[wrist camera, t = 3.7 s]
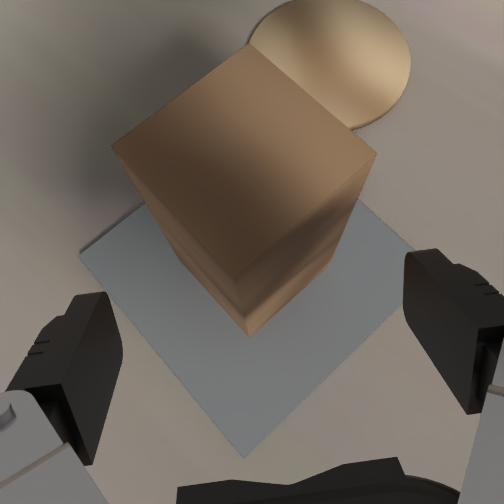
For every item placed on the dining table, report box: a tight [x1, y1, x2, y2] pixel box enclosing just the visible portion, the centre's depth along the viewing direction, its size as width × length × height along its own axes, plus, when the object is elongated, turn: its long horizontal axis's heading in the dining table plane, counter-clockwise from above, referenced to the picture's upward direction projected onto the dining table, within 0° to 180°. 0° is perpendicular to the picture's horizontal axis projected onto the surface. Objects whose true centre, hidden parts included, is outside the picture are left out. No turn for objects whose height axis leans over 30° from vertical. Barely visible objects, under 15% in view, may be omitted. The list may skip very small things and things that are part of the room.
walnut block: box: [111, 43, 377, 338], centre depth 17 cm, size 5×5×10 cm
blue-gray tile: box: [78, 199, 414, 459], centre depth 22 cm, size 12×12×1 cm
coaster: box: [250, 0, 411, 130], centre depth 25 cm, size 9×9×1 cm
